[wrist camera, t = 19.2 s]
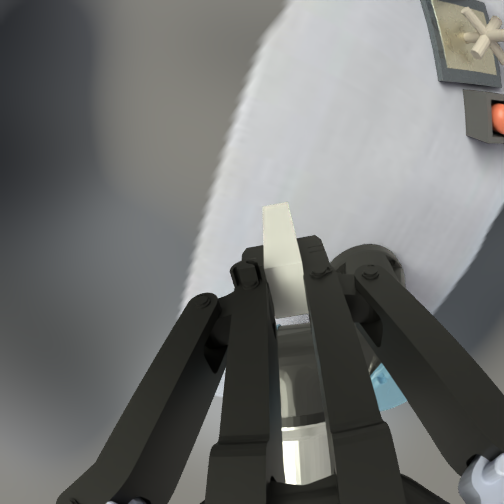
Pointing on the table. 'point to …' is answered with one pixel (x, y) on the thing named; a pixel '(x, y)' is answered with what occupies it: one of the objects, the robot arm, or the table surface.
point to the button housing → (481, 115)
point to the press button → (497, 117)
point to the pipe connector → (484, 35)
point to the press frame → (459, 43)
